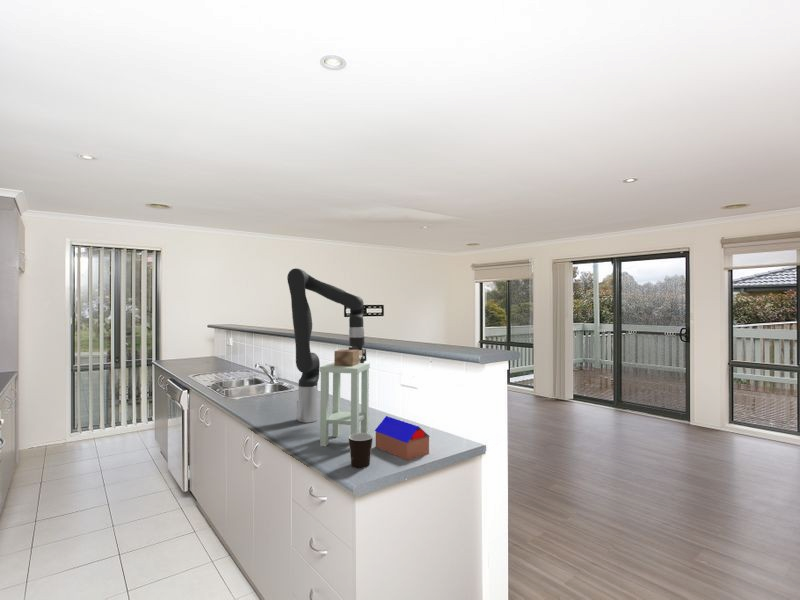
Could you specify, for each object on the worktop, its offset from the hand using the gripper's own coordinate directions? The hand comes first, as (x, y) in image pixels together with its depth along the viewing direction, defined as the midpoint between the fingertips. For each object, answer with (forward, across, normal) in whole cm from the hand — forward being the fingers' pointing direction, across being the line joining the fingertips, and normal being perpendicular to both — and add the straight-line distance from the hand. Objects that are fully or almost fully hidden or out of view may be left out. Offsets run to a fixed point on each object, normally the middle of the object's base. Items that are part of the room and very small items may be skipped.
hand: (357, 368), depth 212 cm
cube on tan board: (-7, +22, -14) cm, 27 cm away
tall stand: (+25, +26, -21) cm, 42 cm away
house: (+27, +48, -7) cm, 55 cm away
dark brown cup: (+26, +52, -27) cm, 64 cm away
